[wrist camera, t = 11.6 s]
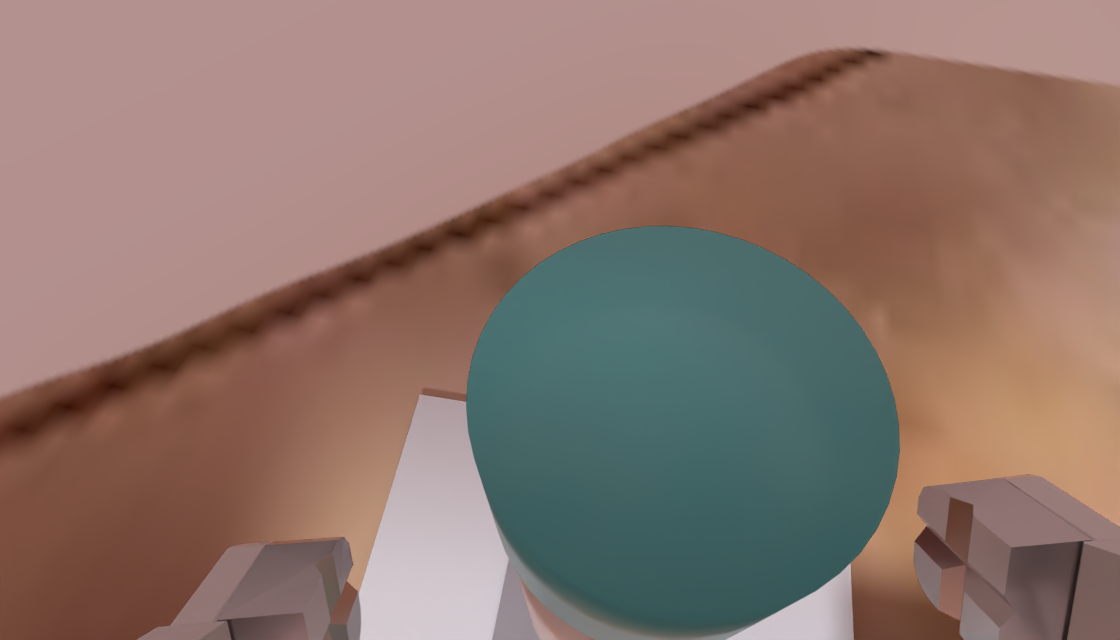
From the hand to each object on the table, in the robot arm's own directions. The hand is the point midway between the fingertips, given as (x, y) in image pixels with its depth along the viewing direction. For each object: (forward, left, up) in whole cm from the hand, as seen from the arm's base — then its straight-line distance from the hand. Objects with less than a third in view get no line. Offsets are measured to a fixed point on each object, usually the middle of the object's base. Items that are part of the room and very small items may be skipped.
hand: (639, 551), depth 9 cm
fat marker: (0, 0, -7) cm, 8 cm away
